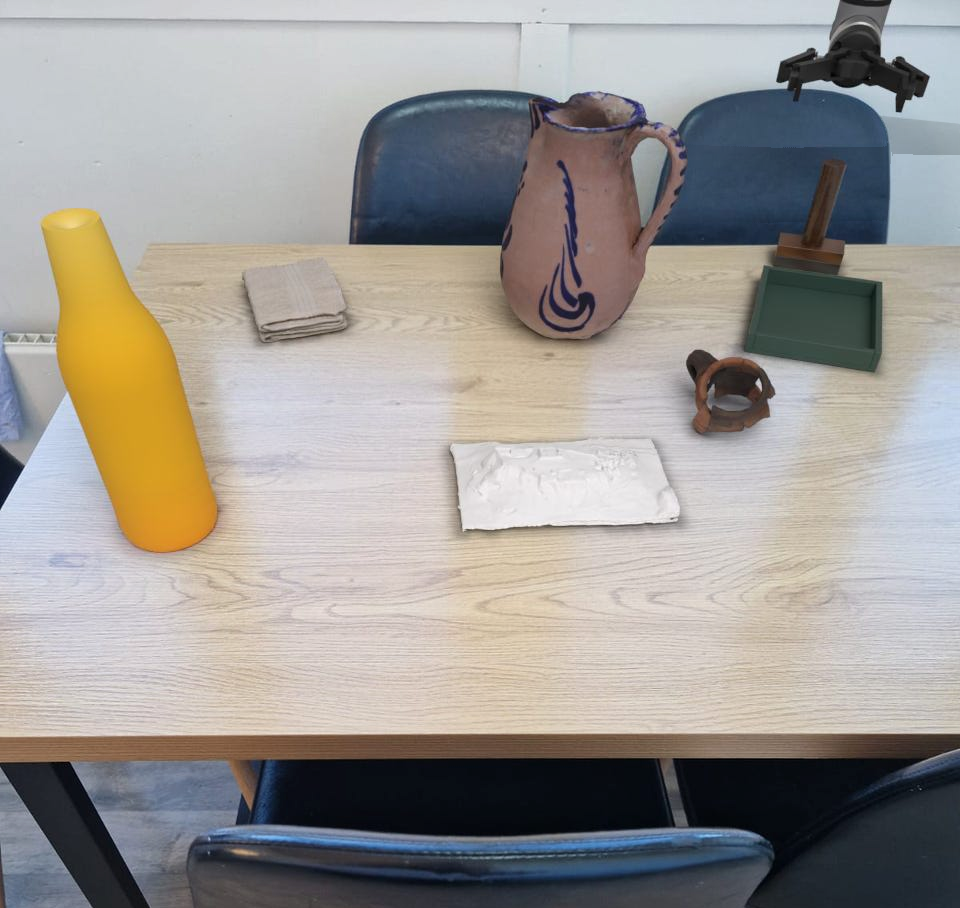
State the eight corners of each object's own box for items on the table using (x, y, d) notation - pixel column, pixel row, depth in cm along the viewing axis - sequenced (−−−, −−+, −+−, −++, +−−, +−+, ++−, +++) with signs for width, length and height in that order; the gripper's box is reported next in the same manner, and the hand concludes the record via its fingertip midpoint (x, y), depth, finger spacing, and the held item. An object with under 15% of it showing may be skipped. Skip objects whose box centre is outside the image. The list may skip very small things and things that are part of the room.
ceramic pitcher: (524, 282, 120) (533, 74, 101) (673, 310, 115) (712, 96, 96) (478, 342, 109) (479, 120, 90) (641, 375, 104) (678, 148, 85)
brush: (838, 261, 125) (870, 160, 115) (837, 275, 122) (870, 172, 112) (775, 253, 127) (801, 152, 117) (772, 266, 124) (799, 164, 114)
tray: (876, 299, 117) (882, 281, 115) (874, 372, 104) (882, 353, 103) (759, 282, 120) (763, 265, 118) (744, 351, 108) (749, 332, 106)
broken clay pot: (785, 419, 98) (798, 382, 90) (724, 474, 98) (731, 442, 90) (710, 354, 102) (715, 313, 94) (650, 408, 102) (651, 371, 94)
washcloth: (261, 347, 108) (257, 323, 105) (240, 284, 119) (236, 261, 117) (354, 332, 110) (352, 309, 108) (325, 272, 122) (322, 250, 119)
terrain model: (693, 530, 86) (705, 490, 82) (467, 552, 82) (470, 510, 79) (640, 434, 97) (649, 394, 93) (438, 449, 93) (439, 408, 89)
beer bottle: (104, 545, 83) (-25, 237, 61) (153, 487, 89) (52, 188, 67) (191, 563, 81) (90, 253, 59) (236, 503, 87) (158, 202, 65)
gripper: (930, 90, 130) (935, 136, 117) (763, 73, 135) (749, 116, 122) (951, 30, 125) (959, 72, 111) (776, 15, 130) (762, 54, 116)
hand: (849, 95), depth 117 cm, fingers open, 13 cm apart
